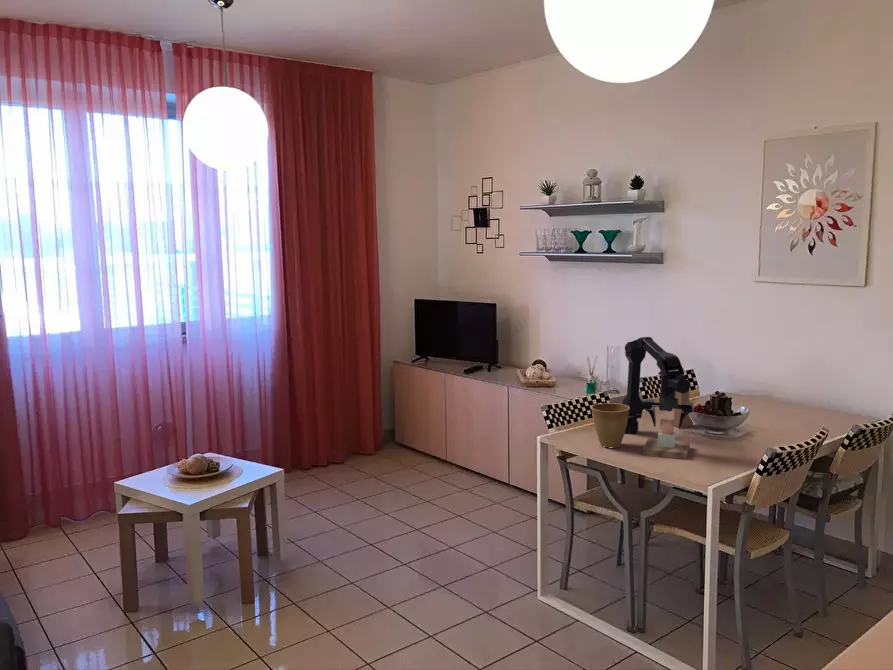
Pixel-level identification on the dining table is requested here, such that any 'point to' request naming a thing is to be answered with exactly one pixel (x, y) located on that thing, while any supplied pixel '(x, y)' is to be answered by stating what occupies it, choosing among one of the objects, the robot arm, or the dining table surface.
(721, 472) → the dining table surface
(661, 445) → the sage cube
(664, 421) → the salmon pink cube
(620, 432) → the plant pot
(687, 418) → the wooden block
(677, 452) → the walnut base
